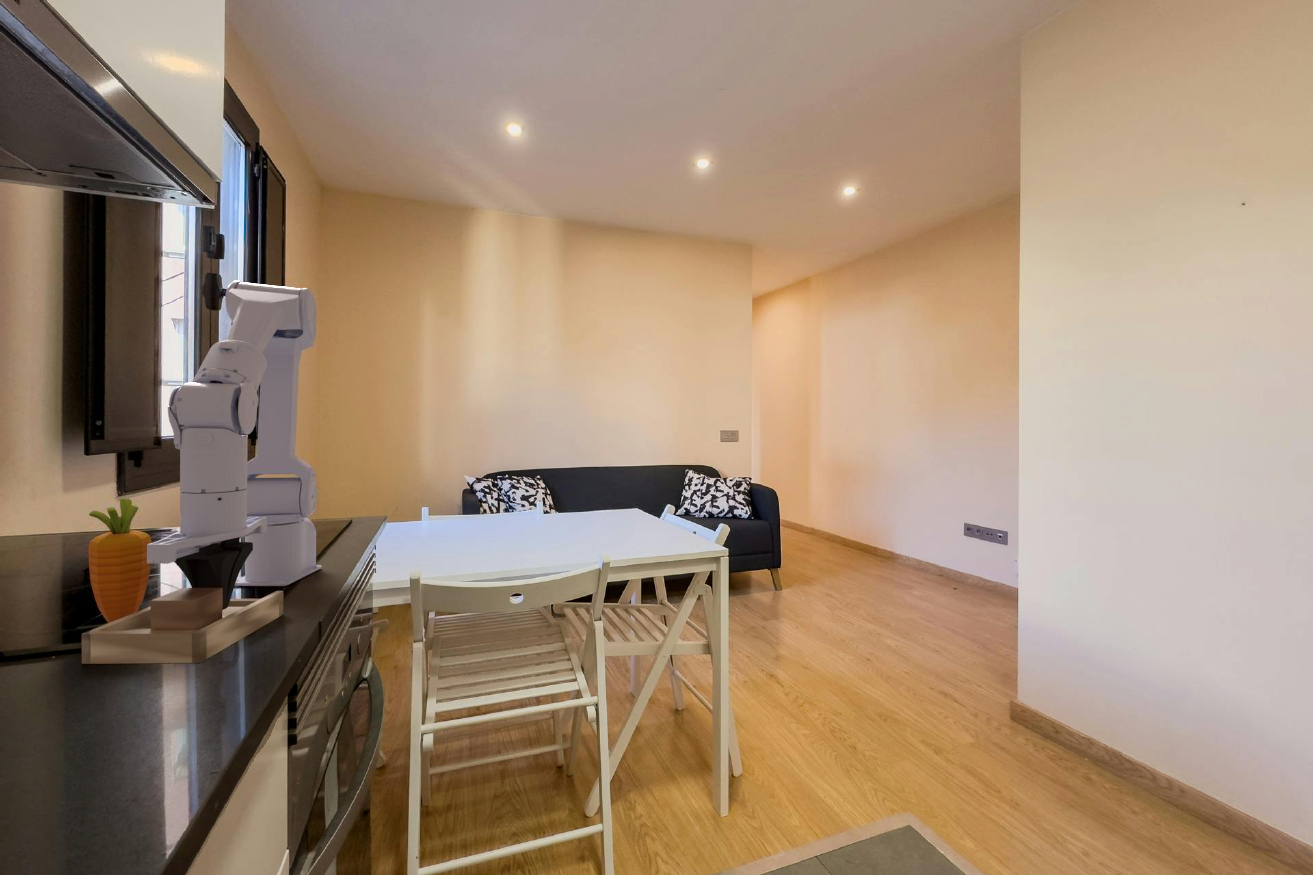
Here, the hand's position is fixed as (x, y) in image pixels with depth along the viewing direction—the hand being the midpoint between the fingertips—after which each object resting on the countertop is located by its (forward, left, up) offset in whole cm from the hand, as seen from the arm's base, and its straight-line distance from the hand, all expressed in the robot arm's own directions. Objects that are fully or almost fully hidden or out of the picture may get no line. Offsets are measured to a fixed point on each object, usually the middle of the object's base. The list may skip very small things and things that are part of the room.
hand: (214, 609), depth 58 cm
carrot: (-1, -11, -3) cm, 12 cm away
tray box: (0, -2, -3) cm, 4 cm away
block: (+4, 0, -1) cm, 4 cm away
